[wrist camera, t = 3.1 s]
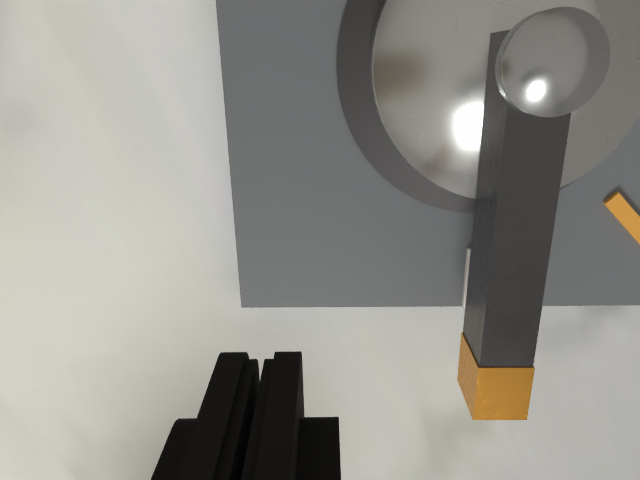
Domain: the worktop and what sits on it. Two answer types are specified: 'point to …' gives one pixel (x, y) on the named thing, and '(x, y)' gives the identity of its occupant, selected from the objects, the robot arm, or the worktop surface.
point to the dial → (505, 146)
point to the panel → (376, 180)
